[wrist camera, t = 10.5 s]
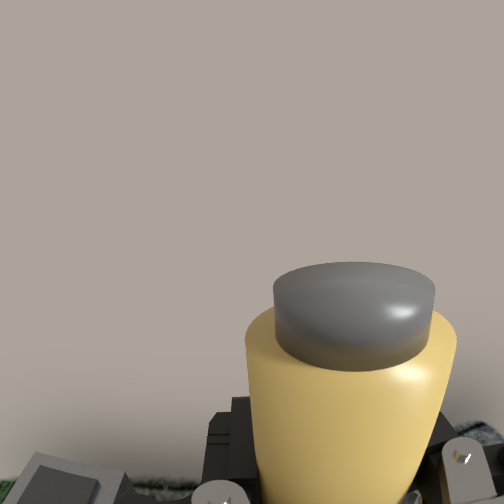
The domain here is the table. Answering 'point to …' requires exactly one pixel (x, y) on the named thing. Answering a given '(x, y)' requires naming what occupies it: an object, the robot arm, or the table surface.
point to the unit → (67, 483)
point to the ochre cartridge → (346, 383)
